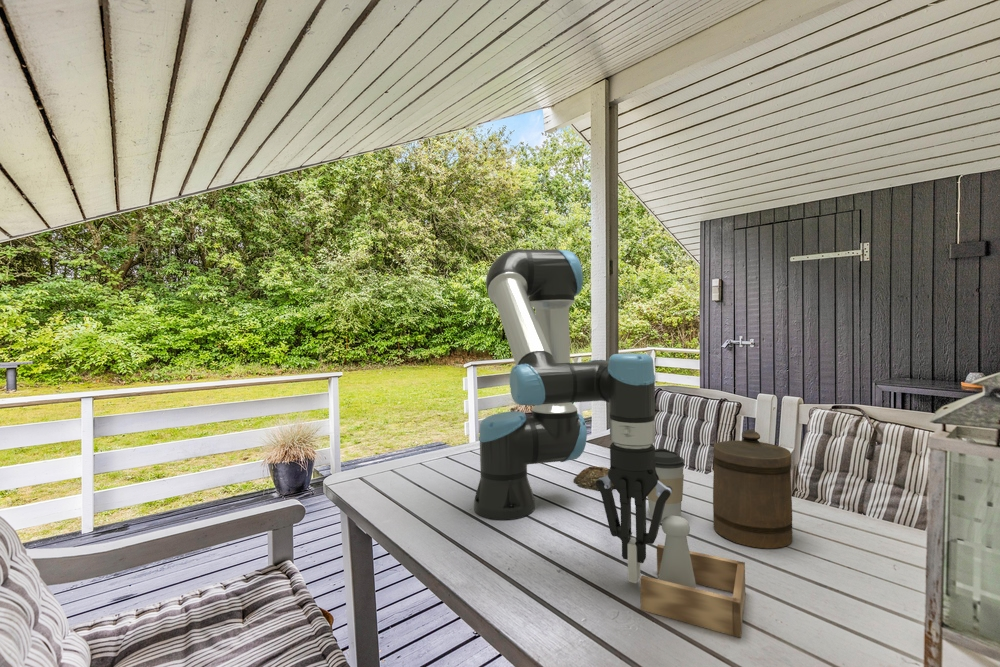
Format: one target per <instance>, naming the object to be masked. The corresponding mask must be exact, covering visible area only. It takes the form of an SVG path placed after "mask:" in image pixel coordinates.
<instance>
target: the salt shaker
mask: <svg viewBox="0 0 1000 667" xmlns="http://www.w3.org/2000/svg"><path fill="white" fill-rule="evenodd" d="M661 529H662V532H663V533H664V534H665V542H664V545H663V546H664V550H663V556H662V561H661V566H660V572H659V575H658V578H657V579H659V580H663V581H667V582H671V583H675V584H679V585H683V586H688V587H692V588H696V587H697V584H696V582H695V577H694V572H693V567H692V562H691V557H690V552H689V551H690V549H689V548H690V547H689V543H688V538H687V536H689V534H690V530H691V525H690V523H689V521H688V520H687V519H686V518H684V517H683V516H681V517H679V516H667V517H665V518H663V520H662V521H661ZM696 589H697V588H696Z"/></svg>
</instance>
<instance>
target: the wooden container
mask: <svg viewBox="0 0 1000 667" xmlns="http://www.w3.org/2000/svg"><path fill="white" fill-rule="evenodd" d="M741 437H742V440H724V441H719V442H716V443H714V445H713V480H712V481H713V484H712V506H713V507H712V509H713V510H712V511H713V517H712V518H713V519H712V520H713V529H714V531H715V532H716V533H717V534H719V536H721V537H723V538H725V539H727V540H728V541H731V542H733V543H735V544H738V545H739V544H740V545H742V546H745V547H751V548H757V549H781V548H784V547H787V546H789V545H790V544H792V542H793V499H792V498H793V497H792V478H791V469H792V452H791V451H790V450H789V449H787V448H786V447H783V446H780V445H776V444H773V443H767V442H763V441H762V442H761V441H759V439H761V434H760V433H759V432H756V430H755V429H746V430H744V431H742V433H741Z"/></svg>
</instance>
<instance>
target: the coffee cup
mask: <svg viewBox="0 0 1000 667" xmlns="http://www.w3.org/2000/svg"><path fill="white" fill-rule="evenodd" d="M655 466H656V473H657V475H658V477H659V481H660V482H661V483H662V484H664V485H665V486H666V487H667V486H670V487H671V488H672V493H671V495H670V497H669V498H668V499H667V501H666V503H665V506H664V510H663V514H662V518H661V522H662V520H663V518H665V517H667V516H679V517H682V516H681V514H682V501H683V494H684V477H685V476H684V466H685V460H684V458H683V457H681V456H680V454H679V453H678V452H675V451H671V450H669V449H667V448H655ZM658 498H659V497H657V496H656V488H655V487H654V489H653V490H652V491H651V492H650V493H649V495H648V496H647V497H646V499H647V501H648V502H647V503H648V511H649V513H648V514H649V516H650V517H651V518H652V517H653V513H654V509H655V505H656V501H657V499H658Z"/></svg>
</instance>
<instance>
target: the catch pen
mask: <svg viewBox="0 0 1000 667" xmlns="http://www.w3.org/2000/svg"><path fill="white" fill-rule="evenodd" d="M663 550H664V545H662V544H657V545H656V572H657V573H656V574H657V575H658V576H659V572H660V566H661V561H662V556H663ZM689 552H690V557H691V562H692V567H693V572H694V577H695V582H696V585H700V586H704V587H709V588H712V589H717V590H720V591H721V590H722V591H725V592H730V593H733V594H732V596H728V595H724V594H720V593H715V592H711V591H707V590H703V589H699V588H692V587H688V586H683V585H679V584H675V583H671V582H667V581H663V580H659V579H658V578H655V577H649V576H646V575H640V578H639V580H640V582H639V585H640V611H644V612H647V613H651V614H654V615H659V616H662V617H664V618H669V619H673V620H675V621H678V622H679V621H680V622H683V623H686V624H689V625H690V624H691V625H693V626H698V627H701V628H705V629H708V630H712V631H715V632H718V633H722V634H726V635H729V636H733V637H737V638H741V637H742V631H743V630H742V628H743V620H744V619H743V618H744V610H745V609H744V607H745V601H746V600H745V599H746V562H744V561H739V560H737V559H736V560H734V559H731V558H726V557H720V556H717V555H712V554H711V555H710V554H705V553H702V552H696V551H692V550H689Z"/></svg>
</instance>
